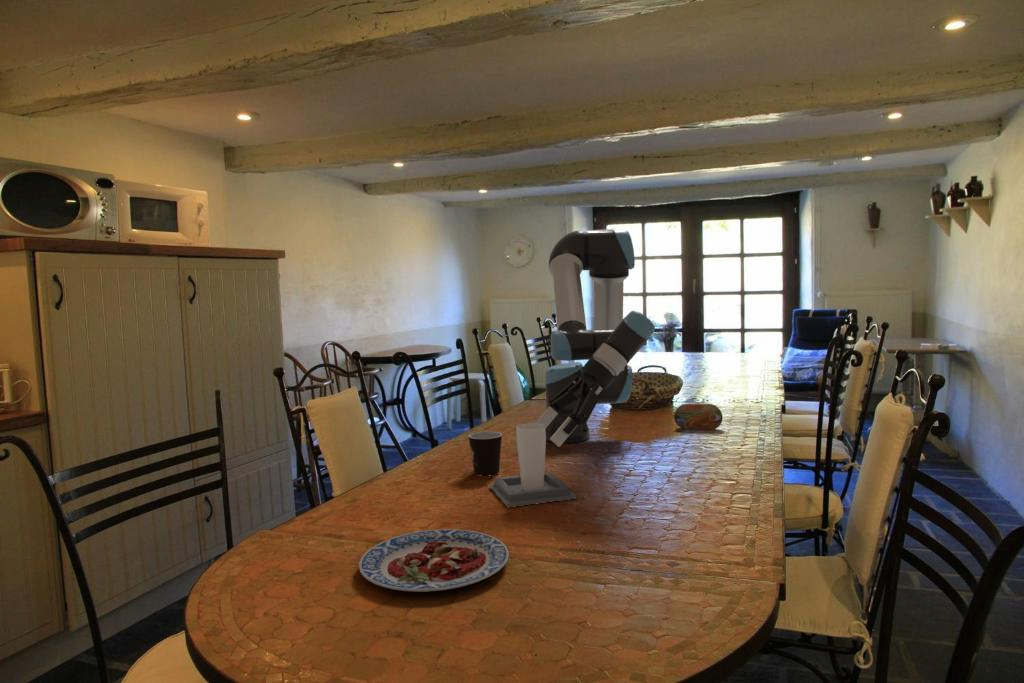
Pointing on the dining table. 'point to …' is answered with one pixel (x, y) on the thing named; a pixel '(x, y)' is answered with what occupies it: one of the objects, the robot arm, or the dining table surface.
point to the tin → (698, 416)
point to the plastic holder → (515, 496)
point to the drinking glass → (531, 455)
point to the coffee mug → (485, 452)
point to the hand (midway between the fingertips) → (544, 436)
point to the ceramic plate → (433, 560)
